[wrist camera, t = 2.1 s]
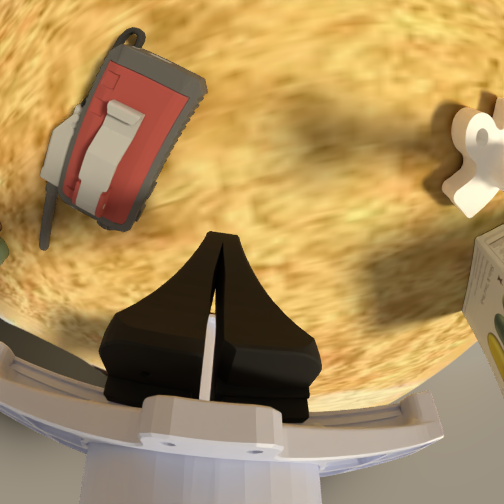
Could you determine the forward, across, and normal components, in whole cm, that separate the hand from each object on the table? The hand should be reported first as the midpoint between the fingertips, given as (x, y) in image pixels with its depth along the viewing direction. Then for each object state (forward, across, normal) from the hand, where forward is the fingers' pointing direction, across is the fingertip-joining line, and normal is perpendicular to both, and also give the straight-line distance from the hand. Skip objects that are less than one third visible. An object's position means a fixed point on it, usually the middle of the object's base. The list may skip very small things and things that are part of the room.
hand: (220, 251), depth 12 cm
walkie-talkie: (+8, +10, 0) cm, 13 cm away
